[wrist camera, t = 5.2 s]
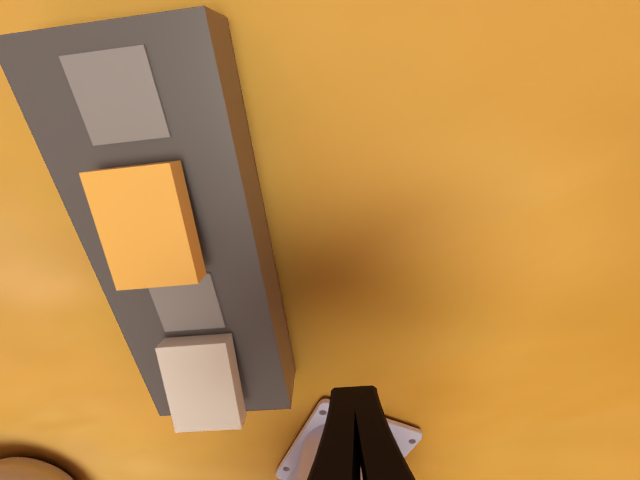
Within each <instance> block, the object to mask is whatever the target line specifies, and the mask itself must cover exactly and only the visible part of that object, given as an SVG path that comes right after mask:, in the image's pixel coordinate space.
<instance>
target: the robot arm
mask: <svg viewBox="0 0 640 480" xmlns="http://www.w3.org/2000/svg"><path fill="white" fill-rule="evenodd" d="M421 439H422V432H421V430H420V429H418V428H415V427H412V426H409V425H406V424H403V423H400V422H397V421H394V420H391V419H388V418H386V417H385V415H384V412H383V409H382V406H381V403H380V400H379V397H378V393H377V389H376V388H375V387H374V386H358V387H341V388H334V389H332V390H331V396H330V399H322V400H320V401H319V403H318V405H317V406H316V408H315V409H314V411H313V412H312V414H311V416H310V417H309V419H308V420H307V422H306V424H305V425H304V427H303V428H302V430H301V432H300V433H299V435H298V436H297V438H296V439H295V441H294V443H293V444H292V446H291V447H290V449H289V451H288V452H287V454H286V455H285V457H284V459H283V460H282V462H281V463H280V465H279V467H278V468H277V470H276V477H277V478H278V479H281V480H415V478H414V476H413V474H412V472H411V471H410V469H409V467H408V465H407V463H406V461H405V459H404V458H405V457H406V456H407V455H408V454H409V452H410V451H411V450H412V449H413V448H414V447H415V446H416V444H417V443H418V442H419V441H420V440H421Z"/></svg>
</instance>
